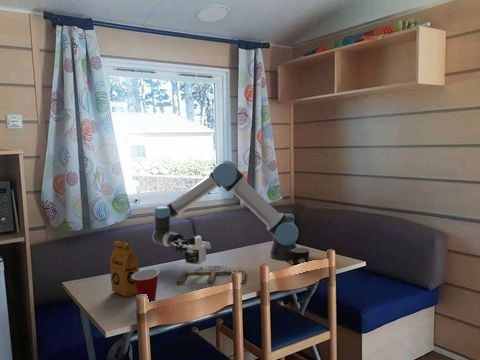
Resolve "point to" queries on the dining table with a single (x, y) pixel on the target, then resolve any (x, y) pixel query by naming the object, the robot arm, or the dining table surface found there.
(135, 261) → the coffee package
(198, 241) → the medicine bottle
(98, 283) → the dining table surface
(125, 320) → the dining table surface
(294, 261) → the coffee mug
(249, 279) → the dining table surface
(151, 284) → the plastic cup
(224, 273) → the wooden tray frame
